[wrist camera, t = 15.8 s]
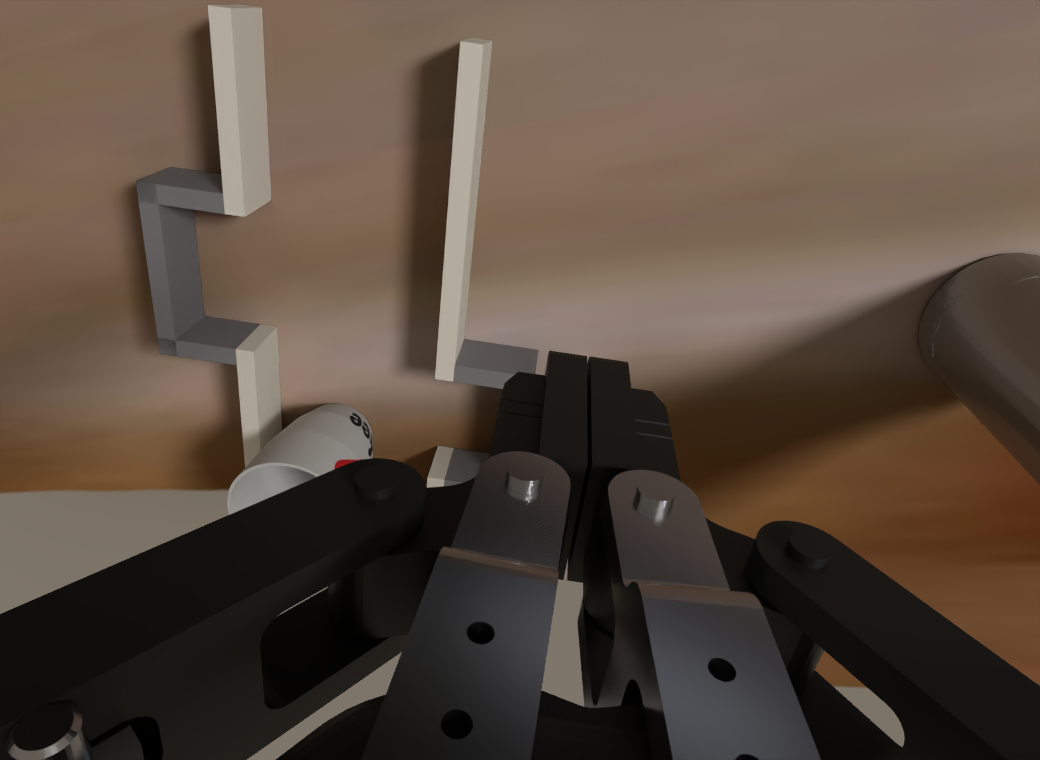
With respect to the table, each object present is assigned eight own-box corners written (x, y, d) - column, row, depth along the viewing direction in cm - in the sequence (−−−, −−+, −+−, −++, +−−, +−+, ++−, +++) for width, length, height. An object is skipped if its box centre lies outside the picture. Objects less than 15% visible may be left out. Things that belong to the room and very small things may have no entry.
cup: (388, 483, 55) (351, 574, 46) (287, 466, 55) (230, 553, 46) (394, 394, 51) (354, 475, 42) (285, 376, 51) (223, 452, 43)
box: (583, 53, 40) (583, 58, 36) (505, 563, 58) (500, 599, 55) (150, -9, 40) (109, -9, 36) (211, 518, 58) (187, 551, 55)
